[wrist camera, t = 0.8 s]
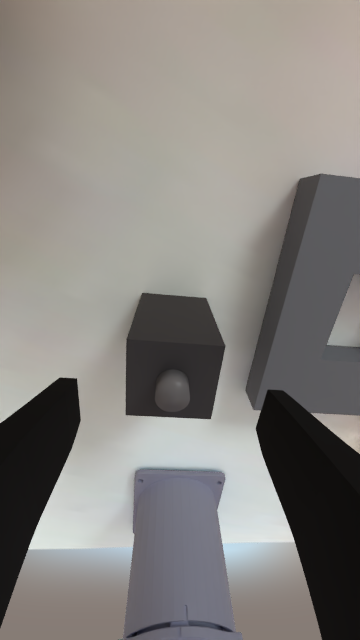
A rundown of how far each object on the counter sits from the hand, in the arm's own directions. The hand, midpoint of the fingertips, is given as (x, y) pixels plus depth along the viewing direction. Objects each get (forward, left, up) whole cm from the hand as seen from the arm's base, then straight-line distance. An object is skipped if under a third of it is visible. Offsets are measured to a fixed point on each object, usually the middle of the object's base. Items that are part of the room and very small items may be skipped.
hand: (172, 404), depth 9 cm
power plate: (+2, -12, -7) cm, 14 cm away
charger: (0, 0, -7) cm, 7 cm away
